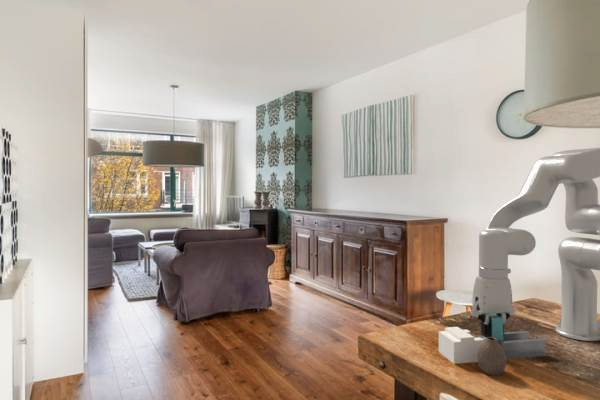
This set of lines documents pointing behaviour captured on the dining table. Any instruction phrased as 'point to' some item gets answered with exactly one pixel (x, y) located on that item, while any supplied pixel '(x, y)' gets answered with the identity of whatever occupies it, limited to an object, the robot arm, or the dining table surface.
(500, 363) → the vase
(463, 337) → the socket block
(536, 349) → the guide channel
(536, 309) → the dining table surface
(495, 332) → the teal-tipped grey beam
